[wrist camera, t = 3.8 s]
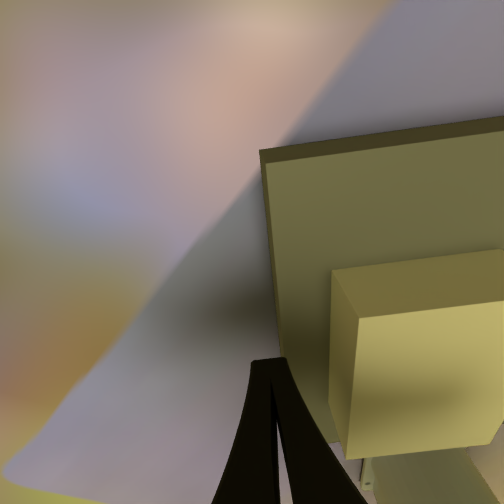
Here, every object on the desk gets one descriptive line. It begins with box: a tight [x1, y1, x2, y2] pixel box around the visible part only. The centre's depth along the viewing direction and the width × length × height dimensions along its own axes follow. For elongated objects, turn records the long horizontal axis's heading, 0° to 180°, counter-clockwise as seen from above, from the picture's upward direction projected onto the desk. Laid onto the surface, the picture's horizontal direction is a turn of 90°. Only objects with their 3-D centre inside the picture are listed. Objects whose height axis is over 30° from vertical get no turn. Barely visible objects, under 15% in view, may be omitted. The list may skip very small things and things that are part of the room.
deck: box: [259, 116, 504, 443], centre depth 13 cm, size 16×14×3 cm
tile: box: [328, 249, 504, 460], centre depth 10 cm, size 8×6×2 cm
